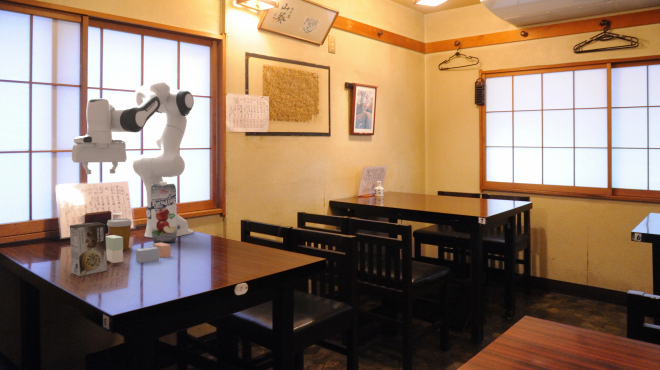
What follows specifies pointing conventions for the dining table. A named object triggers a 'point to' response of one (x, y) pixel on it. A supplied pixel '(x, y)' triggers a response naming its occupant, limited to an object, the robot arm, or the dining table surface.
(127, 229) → the disposable coffee cup
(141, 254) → the slate block
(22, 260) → the dining table surface
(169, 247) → the terracotta block
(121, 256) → the cream block
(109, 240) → the green block
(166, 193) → the juice carton
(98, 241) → the food box
